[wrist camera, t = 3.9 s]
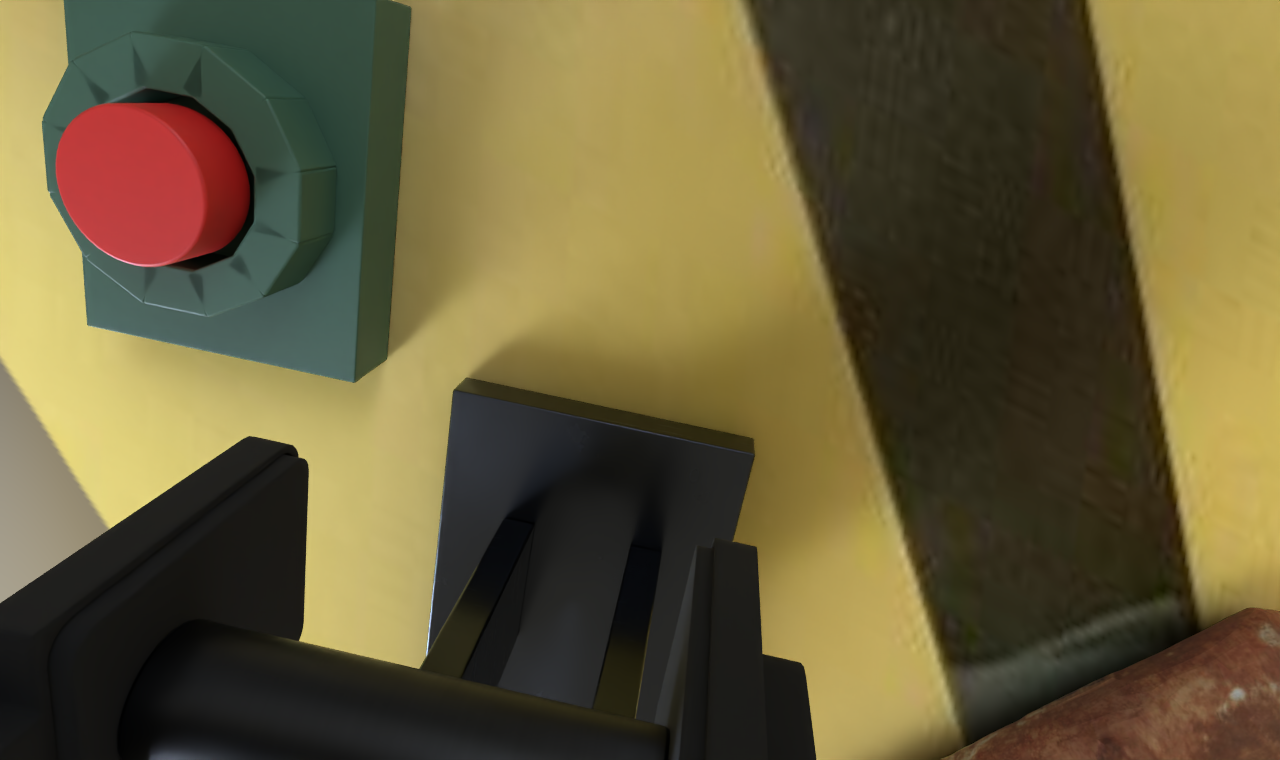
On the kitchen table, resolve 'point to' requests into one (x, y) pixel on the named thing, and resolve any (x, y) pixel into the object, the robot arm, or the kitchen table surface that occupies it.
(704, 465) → the bracket
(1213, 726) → the salami
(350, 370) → the button box
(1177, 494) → the kitchen table surface
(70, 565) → the robot arm
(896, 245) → the kitchen table surface
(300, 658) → the lever
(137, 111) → the button
